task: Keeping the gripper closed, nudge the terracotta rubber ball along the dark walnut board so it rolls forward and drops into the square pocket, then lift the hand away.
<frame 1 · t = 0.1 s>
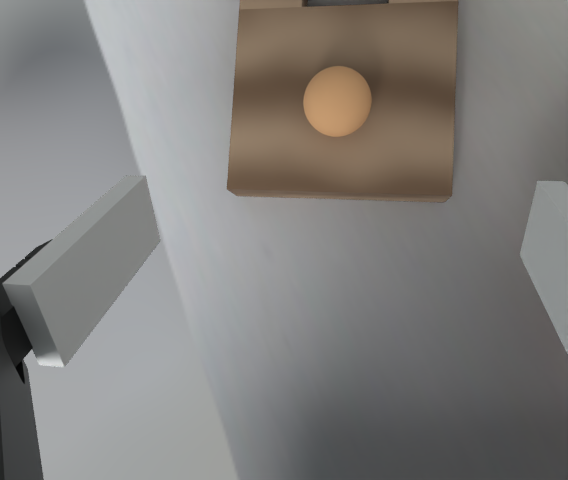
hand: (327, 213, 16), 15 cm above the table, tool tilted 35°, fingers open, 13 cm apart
ball: (337, 102, 27), point 4 cm above the table, touching board
board: (344, 56, 32), on the table
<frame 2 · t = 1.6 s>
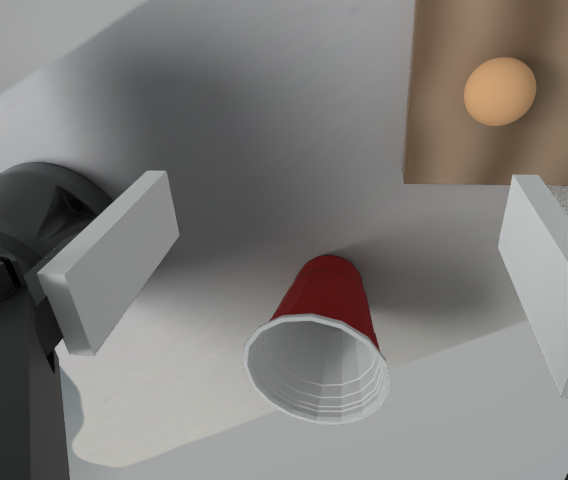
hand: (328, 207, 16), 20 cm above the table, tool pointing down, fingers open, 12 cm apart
plastic cup: (327, 278, 43), on the table
ball: (498, 92, 28), point 4 cm above the table, touching board
board: (562, 74, 31), on the table
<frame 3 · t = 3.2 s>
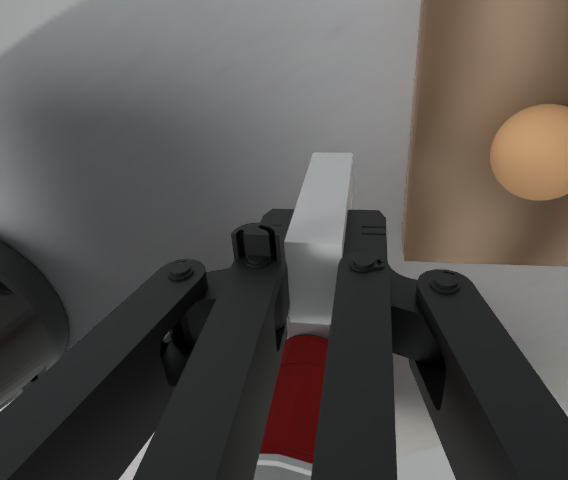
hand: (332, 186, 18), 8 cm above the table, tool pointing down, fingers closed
plastic cup: (308, 360, 35), on the table
ball: (541, 153, 20), point 4 cm above the table, touching board
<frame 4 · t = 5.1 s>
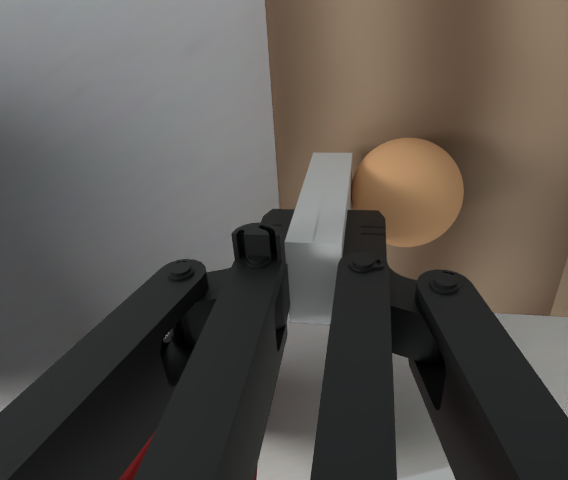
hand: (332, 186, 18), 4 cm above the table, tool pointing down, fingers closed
plastic cup: (216, 397, 32), on the table
ball: (405, 193, 17), point 4 cm above the table, touching board, gripper
board: (514, 150, 20), on the table
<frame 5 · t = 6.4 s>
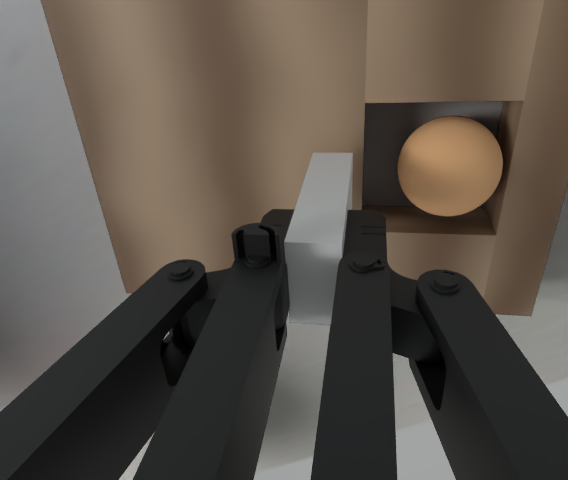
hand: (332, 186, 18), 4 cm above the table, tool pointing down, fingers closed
ball: (448, 166, 19), point 2 cm above the table, tilted 34°
board: (315, 150, 21), on the table
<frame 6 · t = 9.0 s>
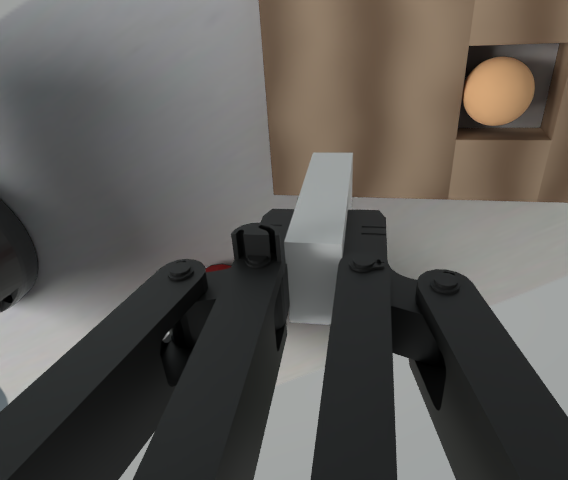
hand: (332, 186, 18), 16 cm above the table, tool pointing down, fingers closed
ball: (497, 91, 28), point 2 cm above the table, tilted 72°
board: (421, 86, 31), on the table
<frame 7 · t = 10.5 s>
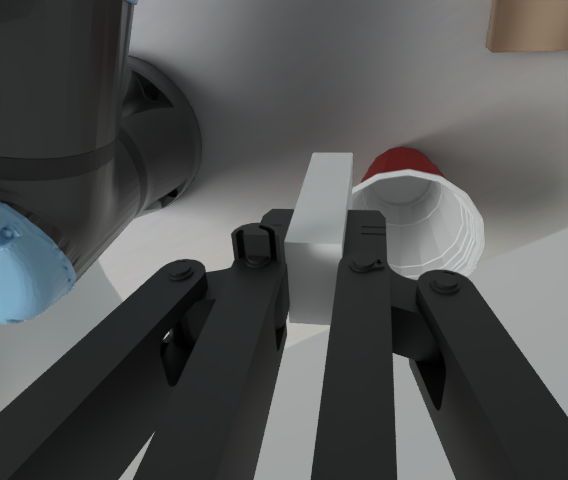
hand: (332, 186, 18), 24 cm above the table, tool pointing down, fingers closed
plastic cup: (397, 175, 43), on the table
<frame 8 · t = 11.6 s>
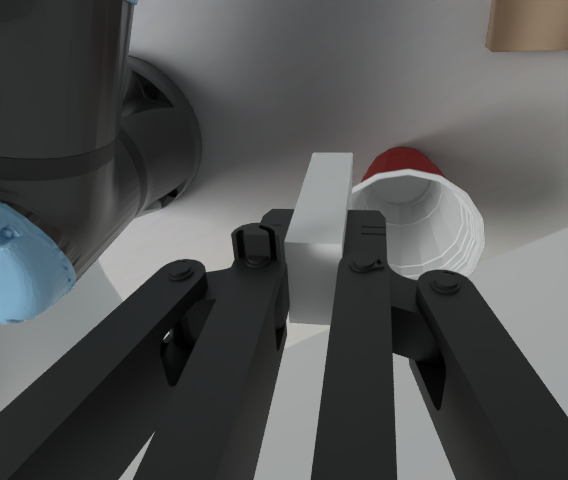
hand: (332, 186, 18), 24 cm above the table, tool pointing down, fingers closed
plastic cup: (397, 175, 43), on the table
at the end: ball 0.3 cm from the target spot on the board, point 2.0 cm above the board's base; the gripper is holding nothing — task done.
